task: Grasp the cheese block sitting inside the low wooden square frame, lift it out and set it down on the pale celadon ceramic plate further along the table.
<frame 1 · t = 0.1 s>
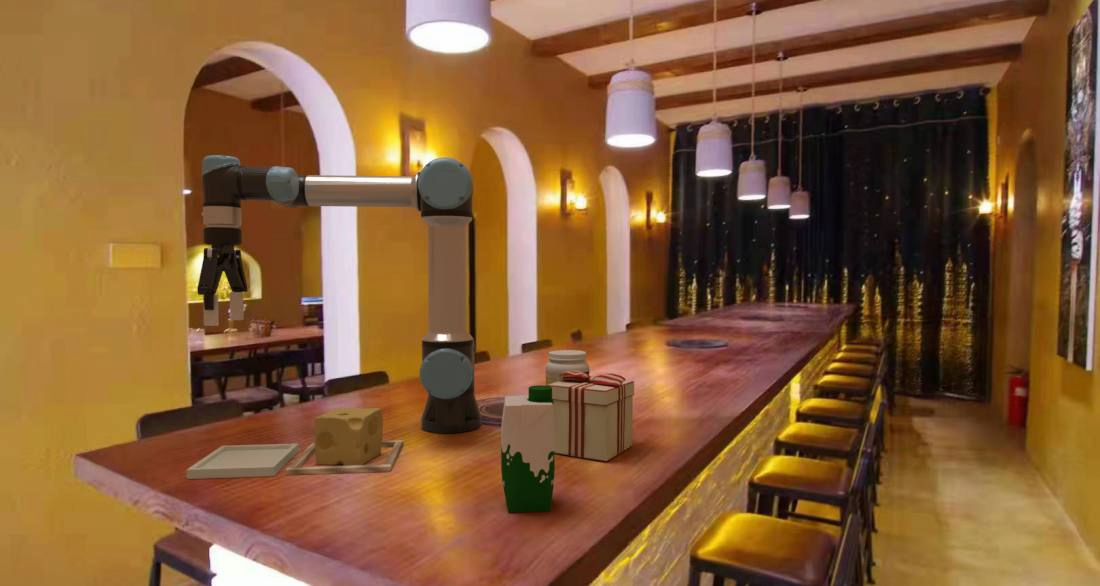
hand: (224, 322, 139), 28 cm above the counter, fingers open, 13 cm apart
supplement tub: (567, 413, 173), on the counter
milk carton: (527, 505, 107), on the counter
gift box: (590, 448, 140), on the counter
wooden square frame: (349, 458, 132), on the counter
plate: (246, 464, 128), on the counter
cheese: (349, 459, 132), resting in wooden square frame
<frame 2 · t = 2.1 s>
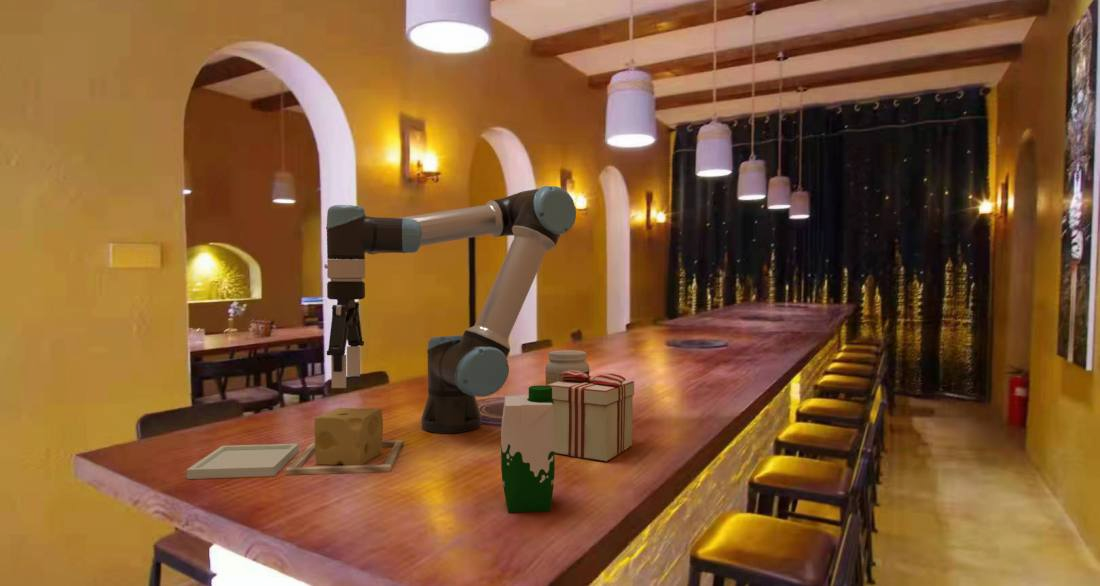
hand: (346, 381, 131), 16 cm above the counter, fingers open, 13 cm apart
nothing on the counter moved.
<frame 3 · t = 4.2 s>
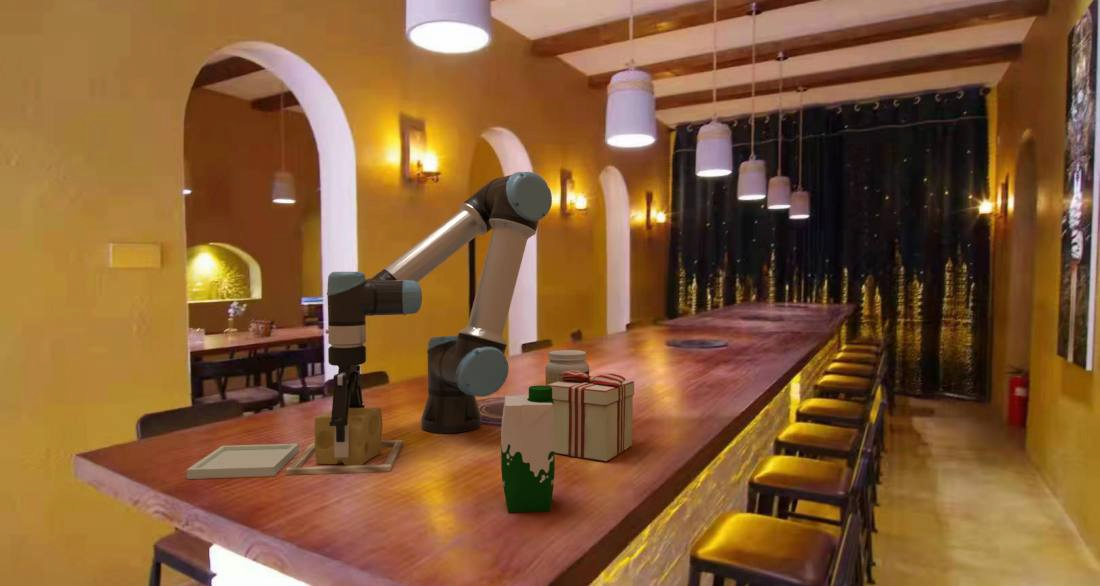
hand: (348, 448, 132), 2 cm above the counter, fingers closed on cheese, 11 cm apart
cheese: (348, 459, 132), resting in wooden square frame, touching gripper
everything else where it was.
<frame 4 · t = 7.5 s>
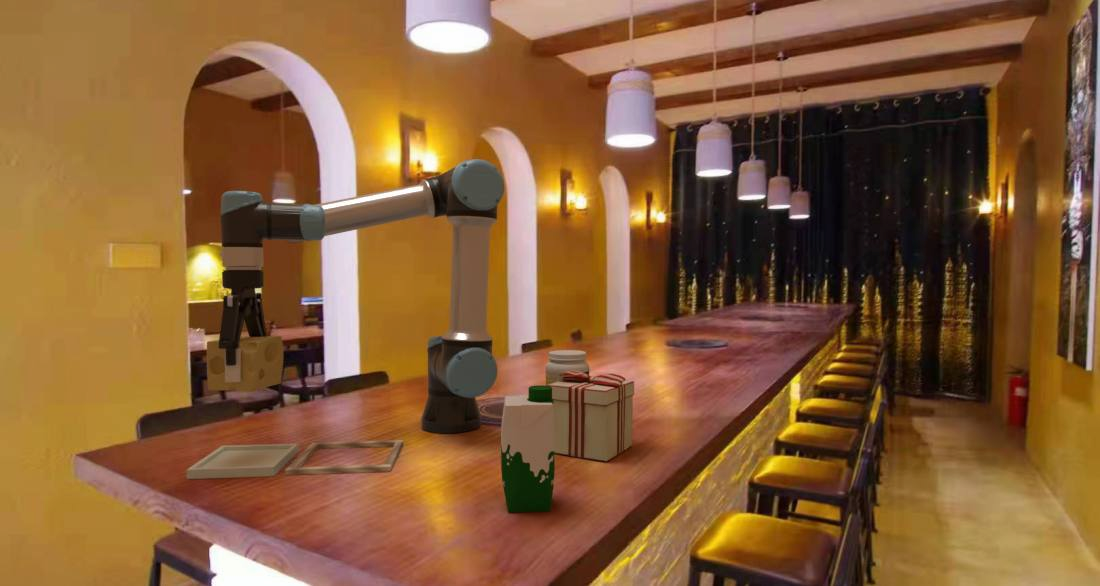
hand: (245, 376, 127), 18 cm above the counter, fingers closed on cheese, 11 cm apart
cheese: (245, 387, 127), point 16 cm above the counter, touching gripper
everything else where it was.
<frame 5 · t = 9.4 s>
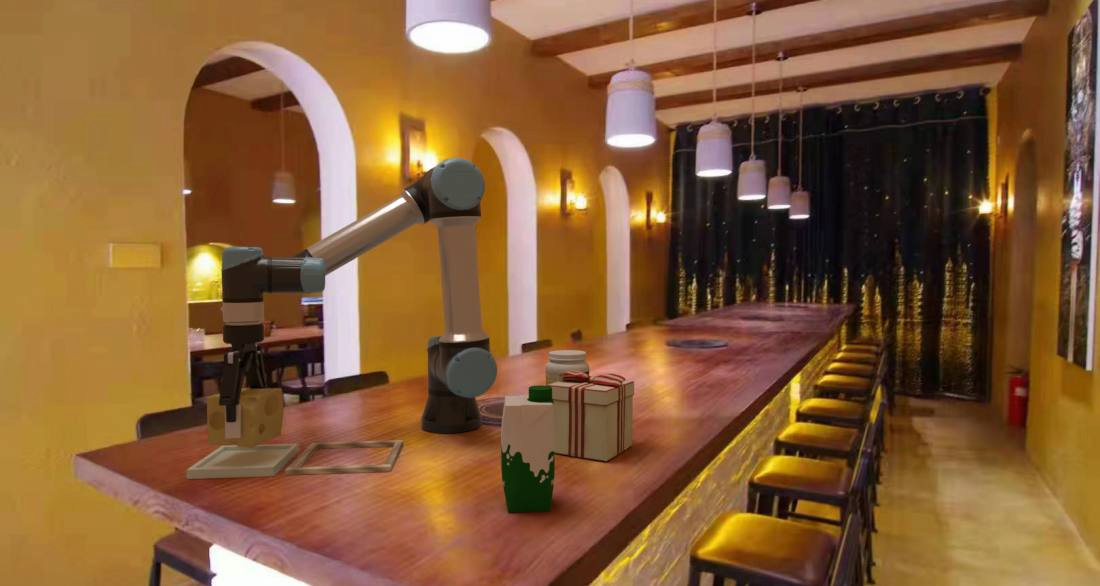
hand: (245, 429, 128), 7 cm above the counter, fingers closed on cheese, 11 cm apart
cheese: (245, 441, 128), point 5 cm above the counter, touching gripper
everything else where it was.
when the fingers open (4 cm above the counter, at t = 11.1 s): cheese stays where it is, resting on plate.
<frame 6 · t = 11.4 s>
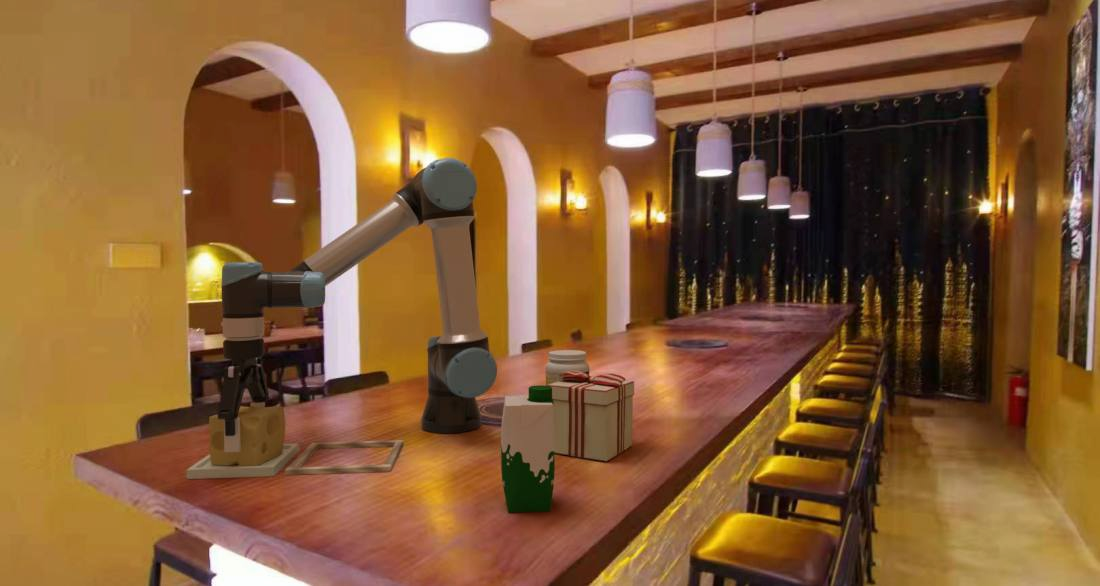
hand: (246, 441, 128), 5 cm above the counter, fingers open, 13 cm apart
cheese: (247, 460, 128), point 1 cm above the counter, touching plate
everything else where it was.
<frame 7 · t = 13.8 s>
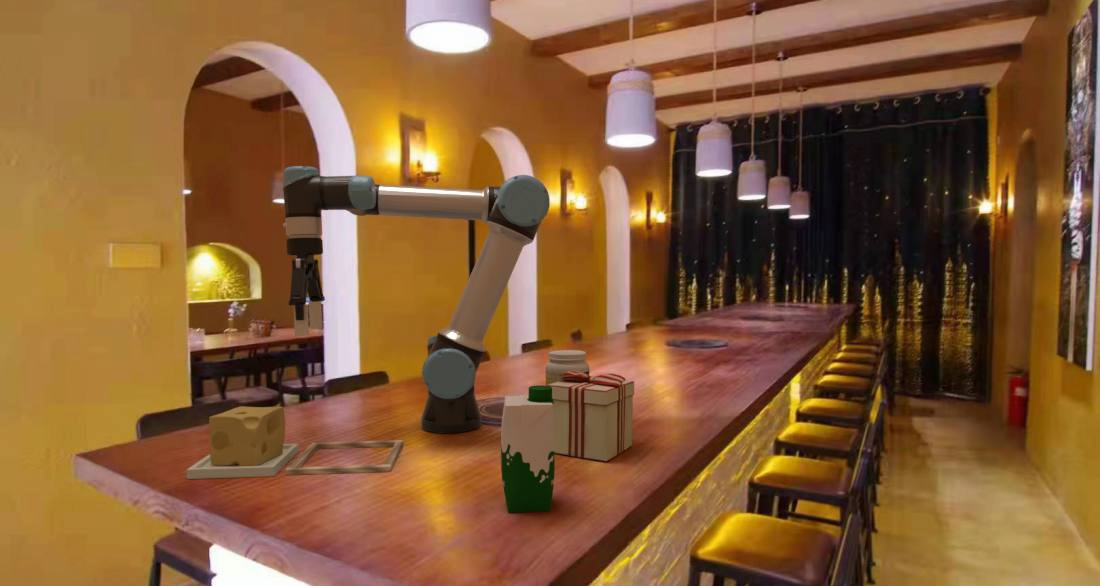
hand: (309, 332, 140), 26 cm above the counter, fingers open, 13 cm apart
nothing on the counter moved.
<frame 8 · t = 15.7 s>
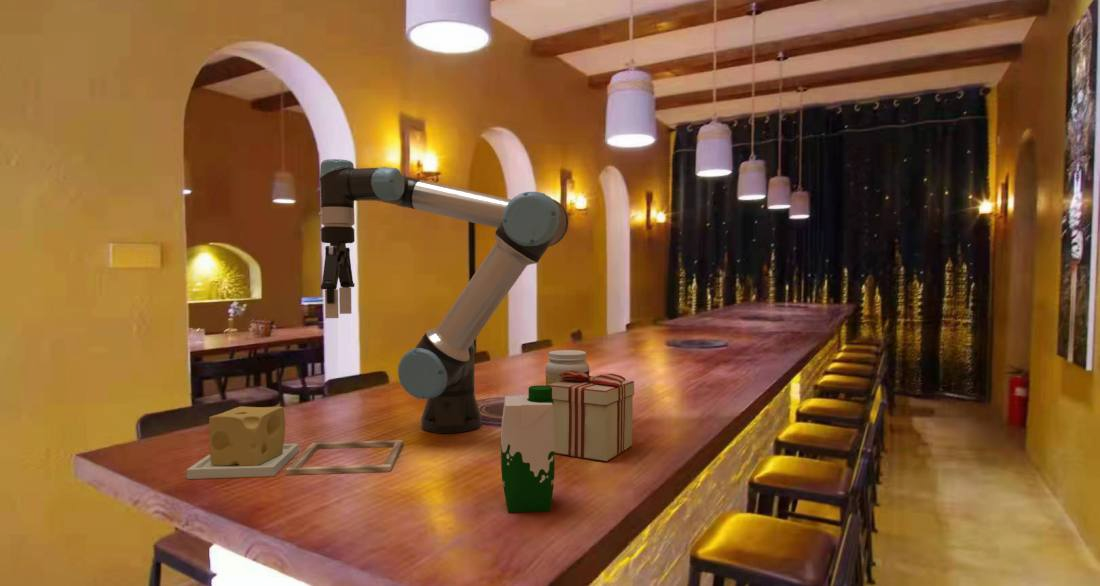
hand: (339, 315, 149), 29 cm above the counter, fingers open, 13 cm apart
nothing on the counter moved.
at the end: cheese 0.4 cm from the plate (horizontally); cheese touching plate; the gripper is holding nothing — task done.
